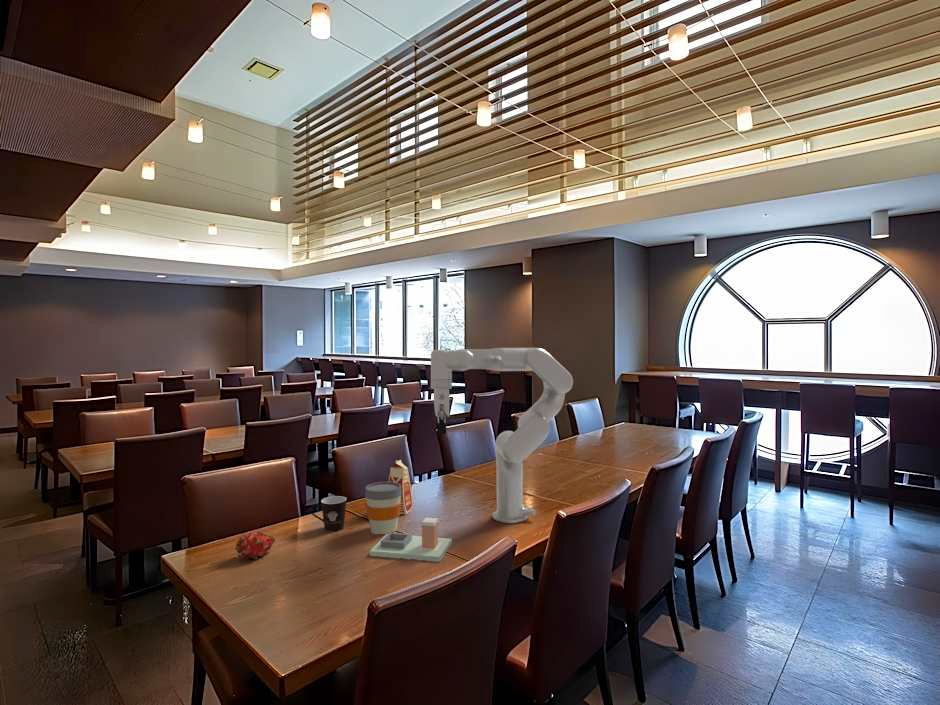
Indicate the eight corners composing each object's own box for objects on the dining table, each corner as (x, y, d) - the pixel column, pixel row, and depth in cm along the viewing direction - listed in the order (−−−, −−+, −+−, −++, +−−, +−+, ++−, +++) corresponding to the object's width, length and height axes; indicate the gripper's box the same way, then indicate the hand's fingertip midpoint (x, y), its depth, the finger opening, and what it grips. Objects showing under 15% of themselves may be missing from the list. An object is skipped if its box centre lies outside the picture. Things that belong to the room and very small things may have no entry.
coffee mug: (351, 525, 178) (351, 497, 178) (337, 534, 170) (337, 504, 170) (323, 521, 182) (323, 494, 182) (308, 530, 174) (308, 501, 174)
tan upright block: (438, 543, 157) (438, 518, 157) (434, 548, 153) (434, 522, 153) (426, 542, 158) (425, 517, 158) (422, 547, 154) (421, 521, 154)
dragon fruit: (231, 567, 149) (271, 561, 157) (241, 557, 144) (282, 551, 153) (228, 539, 153) (268, 534, 161) (239, 528, 149) (278, 524, 157)
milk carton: (406, 515, 189) (405, 461, 188) (383, 513, 190) (382, 461, 190) (414, 507, 198) (413, 456, 197) (391, 506, 199) (391, 455, 199)
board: (451, 543, 162) (451, 533, 162) (439, 562, 148) (439, 550, 148) (387, 538, 166) (387, 528, 166) (369, 555, 153) (369, 545, 153)
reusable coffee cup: (371, 539, 166) (370, 494, 165) (361, 527, 177) (360, 484, 176) (407, 532, 171) (406, 488, 171) (395, 520, 182) (394, 479, 182)
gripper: (453, 386, 172) (453, 436, 173) (450, 382, 190) (450, 427, 190) (431, 386, 172) (431, 436, 172) (430, 382, 189) (430, 427, 189)
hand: (441, 431), depth 181 cm, fingers open, 9 cm apart
